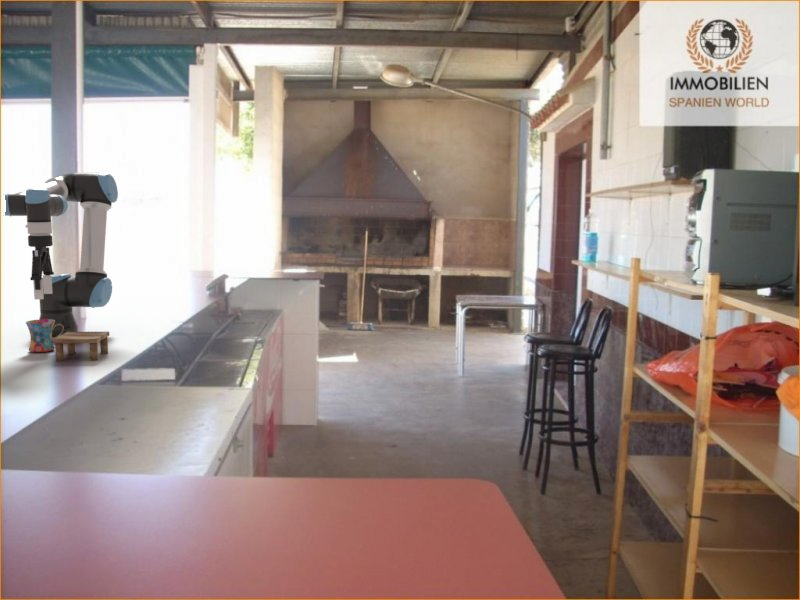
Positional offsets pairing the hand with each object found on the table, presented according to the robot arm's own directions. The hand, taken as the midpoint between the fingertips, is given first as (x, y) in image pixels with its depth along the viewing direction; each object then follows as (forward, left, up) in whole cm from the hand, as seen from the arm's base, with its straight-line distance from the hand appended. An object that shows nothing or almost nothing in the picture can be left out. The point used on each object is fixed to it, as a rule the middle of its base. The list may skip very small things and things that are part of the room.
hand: (43, 296), depth 263 cm
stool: (+9, +15, -20) cm, 26 cm away
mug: (-2, -1, -20) cm, 20 cm away
